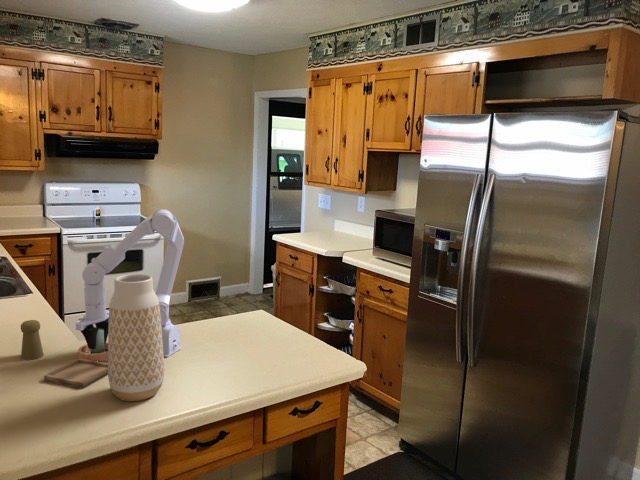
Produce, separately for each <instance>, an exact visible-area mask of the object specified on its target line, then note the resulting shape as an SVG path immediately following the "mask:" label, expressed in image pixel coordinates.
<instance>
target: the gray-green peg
mask: <svg viewBox="0 0 640 480" xmlns="http://www.w3.org/2000/svg"><path fill="white" fill-rule="evenodd" d="M89 352H90V353H89V354H99V353H103V352H106V351H105V347H104V329H103V328H99V329H98V332H97V336H96V348H95V349H90V351H89Z"/></svg>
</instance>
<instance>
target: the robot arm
mask: <svg viewBox="0 0 640 480" xmlns="http://www.w3.org/2000/svg"><path fill="white" fill-rule="evenodd" d="M155 232H156V233H157V234H159V235H160V236H161V237H163V239H164V240H165V241H166V243H167V247H166V250H165V255H164V259H163V262H162V266H161V271H160V275H159V277H158V282H157V286H156V291H155V294H156V295H157V297H158V300H159V306H160V317H161V329H162V342H163V354H164V357H165V358H168V357H170V356H171V355H173V354H174V353H177V352H178V351H180V350H181V349H182V347H181V345H180V343H181V338H180V337H181V335H180V334H181V333H180V328H179V326H178V325H175V324H173V323H172V319H170V313H169V312H170V300H171V295H172V292H173V287H174V283H175V281H176V280H175V279H176V276H177V271H178V268H179V264H180V260H181V257H182V254H183V253H182V252H183V248H184V244H185V239H184V235H183V233H182V230H181V227H180V225H179V222H178V219H177V218H176V216H175V215H174V214H173V213H172V211H170V210H168V209H166V208H160V209H157V210H156V211H155V212H154V213H153V214H150V216H149V215H148V217H146V218H145V219H144V220H143V221H142V220H141V222H140V223H138V224H137V226H136V227H134V228H133V230H131V232H129V233H128V234H127V235H126V236H125V237H124V238H123V239H122V240H121V241H120V242H119V243H118V244H110V245H109V246H108V245H105V246H104V247H103V251H102V252H101V253H100V254H98V256H96V257H92V259H91V260H90V261H91V262H90V263H88V264H86V266H85V267H84V269H83V271H82V273H81V275H82V280H83V281H84V285H83V286H84V289H83V290H84V308H85V309H84V310H85V313H84V314H85V315H83V318H82V319H81V320H80V321H79V322H75V330H77V331H80V333H81V334H82V335H83V338H84V340H85V342H86V344H87V345H88V348H89V349H95V348H96V336H97V332H98V329H99V328H103V329H104V344H106V342H108V326H109V309H108V310H107V305H106V304H107V303H106V302H107V301H106V300H107V299H106V286H105V279H104V278H105V276H106V274H109V273H111V272H112V271H113V270H114V269H115V268H116V267H117V266H119V264H120V263H122V262H123V261H124V260H125V259H126V252H127V251H128V250H130V249H131V248H132V247H133V246H134V245H136V244H137V243H138V242H140V241H141V240H142V239H143V238H144V237H145V236H150V235H155Z"/></svg>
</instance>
